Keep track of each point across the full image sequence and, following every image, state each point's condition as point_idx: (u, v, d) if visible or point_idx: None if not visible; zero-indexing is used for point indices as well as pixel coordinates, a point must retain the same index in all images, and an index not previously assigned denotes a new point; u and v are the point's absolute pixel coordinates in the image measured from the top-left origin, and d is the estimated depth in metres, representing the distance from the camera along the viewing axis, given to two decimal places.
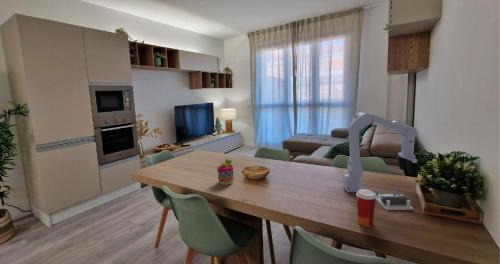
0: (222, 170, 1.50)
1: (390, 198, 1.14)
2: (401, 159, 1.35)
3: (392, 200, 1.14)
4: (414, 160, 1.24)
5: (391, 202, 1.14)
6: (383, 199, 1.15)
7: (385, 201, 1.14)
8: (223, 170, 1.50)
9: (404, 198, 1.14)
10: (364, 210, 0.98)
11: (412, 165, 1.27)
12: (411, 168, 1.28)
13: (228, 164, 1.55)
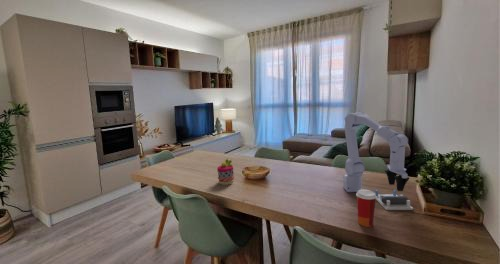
0: (222, 170, 1.50)
1: (390, 198, 1.14)
2: (390, 172, 1.17)
3: (392, 200, 1.14)
4: (404, 175, 1.06)
5: (391, 202, 1.14)
6: (383, 199, 1.15)
7: (385, 201, 1.14)
8: (223, 170, 1.50)
9: (404, 198, 1.14)
10: (364, 210, 0.98)
11: (402, 180, 1.09)
12: (401, 184, 1.09)
13: (228, 164, 1.55)
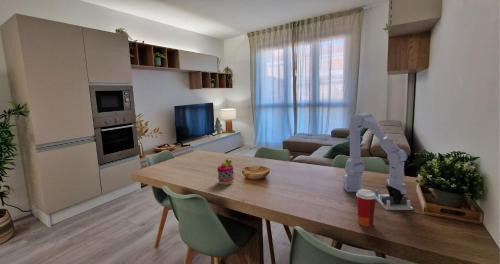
0: (222, 170, 1.50)
1: (390, 198, 1.14)
2: (391, 188, 1.16)
3: (392, 200, 1.14)
4: (403, 191, 1.07)
5: (391, 202, 1.14)
6: (383, 199, 1.15)
7: (385, 201, 1.14)
8: (223, 170, 1.50)
9: (404, 198, 1.14)
10: (364, 210, 0.98)
11: (399, 194, 1.12)
12: (398, 197, 1.12)
13: (228, 164, 1.55)
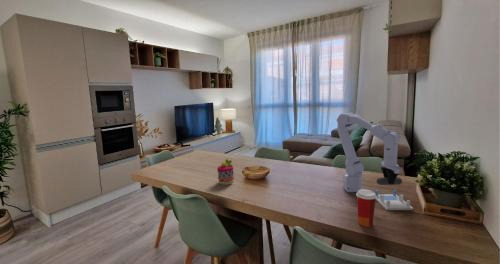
0: (222, 170, 1.50)
1: (384, 179, 1.19)
2: (385, 169, 1.21)
3: (386, 180, 1.19)
4: (396, 171, 1.12)
5: (385, 182, 1.19)
6: (378, 180, 1.20)
7: (379, 181, 1.19)
8: (223, 170, 1.50)
9: (398, 179, 1.19)
10: (364, 210, 0.98)
11: (393, 174, 1.17)
12: (392, 178, 1.17)
13: (228, 164, 1.55)
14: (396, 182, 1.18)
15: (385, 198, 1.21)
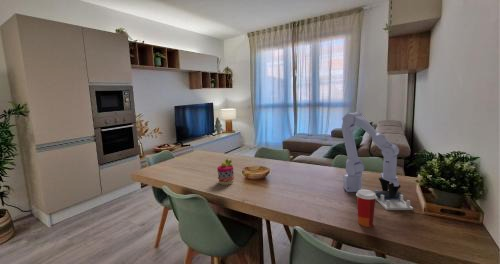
0: (222, 170, 1.50)
1: (384, 192, 1.20)
2: (383, 180, 1.24)
3: (386, 194, 1.20)
4: (396, 183, 1.13)
5: (385, 196, 1.20)
6: (377, 193, 1.21)
7: (379, 195, 1.20)
8: (223, 170, 1.50)
9: (397, 192, 1.20)
10: (364, 210, 0.98)
11: (394, 188, 1.16)
12: (393, 191, 1.17)
13: (228, 164, 1.55)
14: (395, 196, 1.20)
15: (385, 198, 1.21)
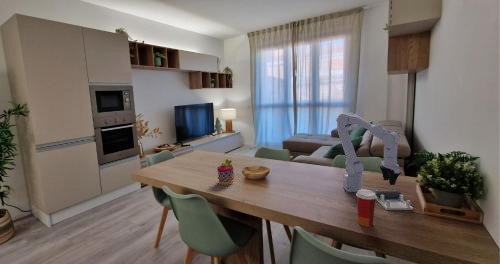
0: (222, 170, 1.50)
1: (384, 192, 1.20)
2: (384, 169, 1.22)
3: (386, 194, 1.20)
4: (396, 170, 1.12)
5: (385, 196, 1.20)
6: (377, 193, 1.21)
7: (379, 195, 1.20)
8: (223, 170, 1.50)
9: (397, 192, 1.20)
10: (364, 210, 0.98)
11: (394, 175, 1.16)
12: (393, 178, 1.16)
13: (228, 164, 1.55)
14: (395, 196, 1.19)
15: (385, 198, 1.21)
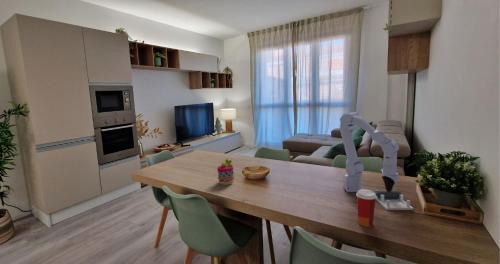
0: (222, 170, 1.50)
1: (384, 193, 1.20)
2: None
3: (386, 194, 1.20)
4: (396, 179, 1.13)
5: (385, 196, 1.20)
6: (377, 193, 1.21)
7: (379, 195, 1.20)
8: (223, 170, 1.50)
9: (397, 192, 1.20)
10: (364, 210, 0.98)
11: (391, 181, 1.19)
12: (390, 185, 1.20)
13: (228, 164, 1.55)
14: (395, 196, 1.19)
15: (385, 198, 1.21)
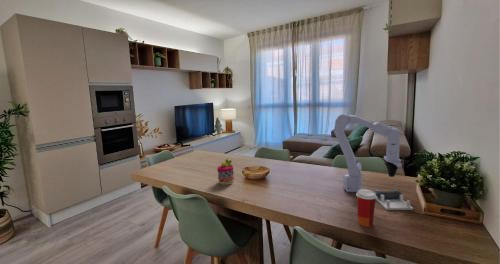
0: (222, 170, 1.50)
1: (384, 193, 1.20)
2: None
3: (386, 195, 1.20)
4: (399, 164, 1.17)
5: (385, 197, 1.20)
6: (377, 194, 1.21)
7: (379, 196, 1.20)
8: (223, 170, 1.50)
9: (397, 193, 1.19)
10: (364, 210, 0.98)
11: (393, 167, 1.24)
12: (393, 170, 1.24)
13: (228, 164, 1.55)
14: (396, 196, 1.19)
15: (385, 198, 1.21)
